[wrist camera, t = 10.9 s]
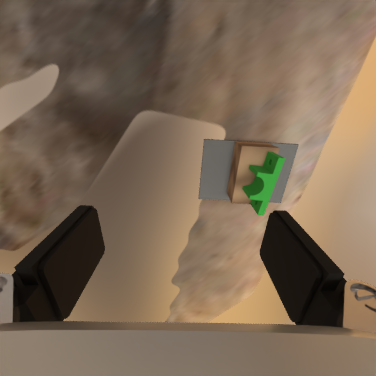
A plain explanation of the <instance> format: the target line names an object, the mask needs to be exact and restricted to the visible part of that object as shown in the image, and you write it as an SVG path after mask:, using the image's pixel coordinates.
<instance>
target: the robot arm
mask: <svg viewBox="0 0 376 376" xmlns="http://www.w3.org/2000/svg"><path fill="white" fill-rule="evenodd" d="M104 251H105V246H104V241H103V237H102V232H101V227H100V223H99V218H98V213H97V210H96V209H95V208H94V207H93V206H85V205H84V206H83V205H81V206H79V207H77V208H76V209H75V210H74V211H73V212H72V213H71V214H70V215H69V216H68V217H67V218H66V219H65V220H64V221H63V222H62V223H61V224H60V225H59V226H58V227H56V228H55V229H54V230H53V231H52V232H51V233H50V234H49V235H48V236H47V237H46V238H45V239H44V240H43V241H42V242H41V243H40V244H38V246H36V247H35V248H34V249H33V250H32V251H31V252H30V253H29V254H28V255H27V256H26V257H25V258H24V259H23V260H22V261H21V262H20V263H19V264H17V265H16V266H15V269H16V271H15V272H14V273H13V274H12V275H10V274H8V273H0V376H376V287H374V286H372V285H370V284H368V283H365V282H363V281H359V280H349V281H346V280H345V279H344V278H343V276H344V273H343V272H342V271H341V270H340V269H339V267H338V266H336V264H335V263H334V262H333V261H332V260H331V259H330V258H329V257H328V255H326V253H325V252H324V251H323V250H322V249H321V248H320V247H319V246H318V245H317V244H316V243H315V241H314V240H313V239H312V238H311V237H310V236H309V235H308V234H307V233H306V232H305V231H304V229H303V228H302V227H301V226H300V225H299V224H298V223H297V222H296V221H295V220H294V219H293V217H292V216H291V215H290V214H289V213H288V212H287V211H277V210H275V211H273V213H270V215H269V219H268V222H267V226H266V230H265V233H264V237H263V241H262V245H261V248H260V256H261V259H262V261H263V263H264V265H265V267H266V269H267V271H268V273H269V276H270V278H271V280H272V282H273V284H274V286H275V288H276V290H277V292H278V294H279V297H280V299H281V301H282V303H283V305H284V307H285V309H286V311H287V313H288V316H289V318H290V319H291V320H292V322H295V324H296V325H283V324H278V325H277V324H236V323H235V324H234V323H180V322H95V321H94V322H92V321H63V320H64V319H66V318H67V317H68V316H69V315H70V313H71V311H72V310H73V308H74V306H75V304H76V302H77V301H78V299H79V297H80V295H81V293H82V292H83V290H84V288H85V286H86V284H87V283H88V281H89V279H90V277H91V276H92V274H93V272H94V270H95V268H96V266H97V265H98V263H99V261H100V259H101V258H102V256H103V254H104Z"/></svg>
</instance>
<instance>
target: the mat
mask: <svg viewBox="0 0 376 376" xmlns="http://www.w3.org/2000/svg"><path fill="white" fill-rule="evenodd" d="M241 142H248V141H241ZM259 143H265V142H259ZM269 144H272V145H274V146H276V147H278V148H279V152H278V155H280V156H282V157H284V158H285V161H284V164H283V166H282V169H281V171H280V174H279V177H278V179H277V182H276V184H275V187H274V190H273V192H272V195H271V197H270V200H269V202H274V203H281V200H282V197H283V194H284V191H285V187H286V184H287V181H288V178H289V174H290V171H291V168H292V165H293V161H294V158H295V155H296V152H297V148H298V144H283V143H269ZM234 146H235V141H230V140H213V139H211V140H210V139H204V146H203V158H202V168H201V178H200V189H199V199H209V200H230V198H229V196H228V194H227V189H228V183H229V177H230V170H231V164H232V158H233V152H234Z"/></svg>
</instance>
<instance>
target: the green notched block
mask: <svg viewBox="0 0 376 376" xmlns="http://www.w3.org/2000/svg"><path fill="white" fill-rule="evenodd" d="M284 161H285V158H284V157H282V156H280V155H278V154H276V153H274V152H269V151H268V152H267V155H266V158H265V161H264V164H263V166H256V165H249V169H250V170H251V171H252V172H253V173H254V174H255V179H254V181H253V182H252V183H251V184H249V185H246V186H243V188H242V189H243V191H244V192H245V194H246V195H247V197H248V198H249V199H251V202H250V204H251V205H252V207H253V208H254V210H255V211H256V213H257V214H258V215H264V213H265V210H266V208H267V205H268V202H269V200H270V197H271V195H272V192H273V190H274V187H275V184H276V182H277V179H278V177H279V174H280V171H281V169H282V166H283V164H284Z"/></svg>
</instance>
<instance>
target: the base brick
mask: <svg viewBox="0 0 376 376" xmlns="http://www.w3.org/2000/svg"><path fill="white" fill-rule="evenodd" d="M268 151H269V152H274V153H276V154H278V152H279V148H278V147H276V146H274V145H272V144H269V143H259V142H241V141H235V146H234V152H233V158H232V164H231V170H230V177H229V183H228V189H227V194H228V196H229V198H230V200H231V203H238V204H250V202H251V199H249V198H248V197H247V195H246V194H245V192H244V191H243V189H242V188H243V186H246V185H249V184H251V183H252V182H253V181H254V179H255V174H254V173H253V172H252V171H251V170H250V169H249V165H256V166H263V164H264V161H265V158H266V155H267V152H268Z"/></svg>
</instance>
